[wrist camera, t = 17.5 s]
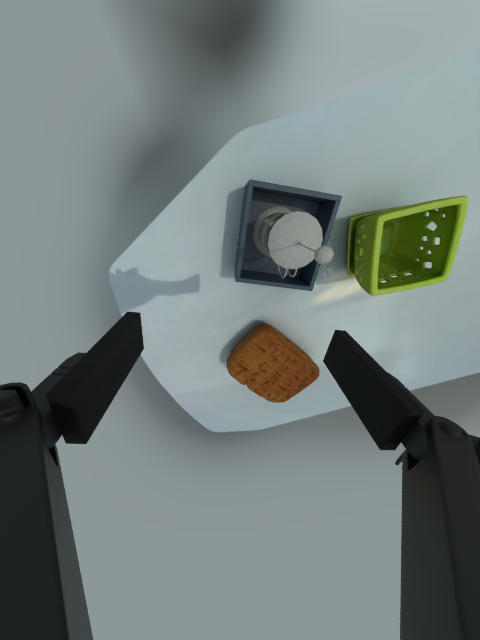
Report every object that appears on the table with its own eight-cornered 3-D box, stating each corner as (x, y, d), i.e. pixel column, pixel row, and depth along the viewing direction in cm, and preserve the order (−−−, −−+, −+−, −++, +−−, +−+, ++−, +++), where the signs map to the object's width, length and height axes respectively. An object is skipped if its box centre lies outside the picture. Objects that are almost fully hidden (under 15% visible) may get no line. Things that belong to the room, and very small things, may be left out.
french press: (301, 204, 40) (388, 194, 18) (298, 263, 46) (363, 312, 24) (251, 208, 40) (278, 204, 18) (254, 267, 46) (278, 320, 24)
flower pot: (408, 198, 42) (474, 193, 30) (398, 266, 48) (449, 282, 37) (339, 213, 42) (378, 214, 31) (337, 278, 49) (370, 298, 38)
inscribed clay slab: (316, 358, 60) (327, 378, 53) (272, 391, 65) (278, 412, 58) (264, 312, 52) (269, 327, 45) (219, 353, 57) (218, 373, 50)
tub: (245, 185, 39) (249, 179, 32) (322, 198, 41) (342, 196, 34) (234, 271, 47) (235, 281, 40) (300, 279, 49) (312, 291, 42)
